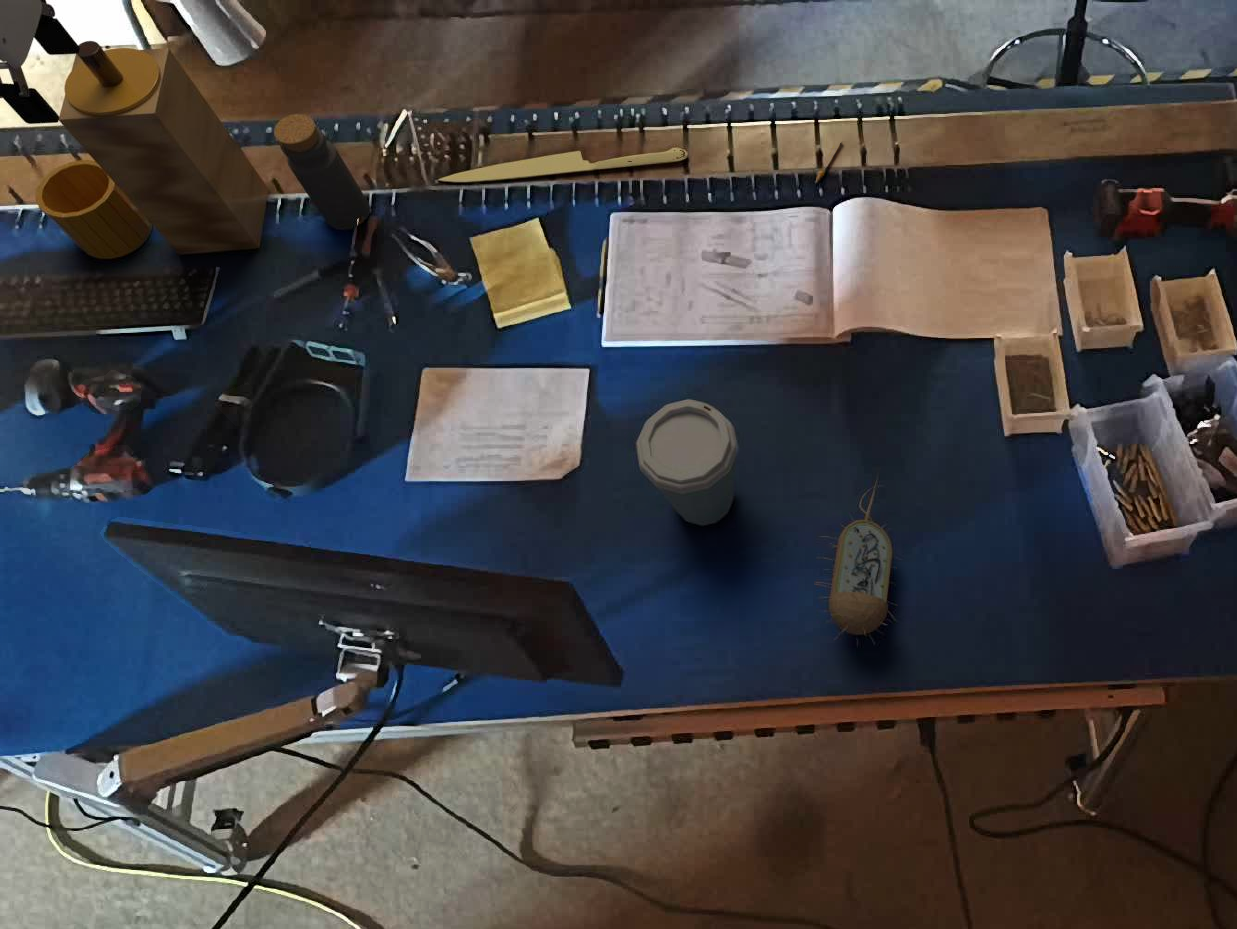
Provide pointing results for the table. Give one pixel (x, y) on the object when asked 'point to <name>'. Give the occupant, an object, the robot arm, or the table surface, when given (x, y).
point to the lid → (111, 79)
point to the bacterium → (860, 576)
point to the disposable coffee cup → (690, 459)
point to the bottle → (321, 172)
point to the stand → (177, 164)
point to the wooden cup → (92, 210)
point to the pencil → (819, 175)
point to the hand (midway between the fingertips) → (54, 86)
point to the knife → (560, 166)
